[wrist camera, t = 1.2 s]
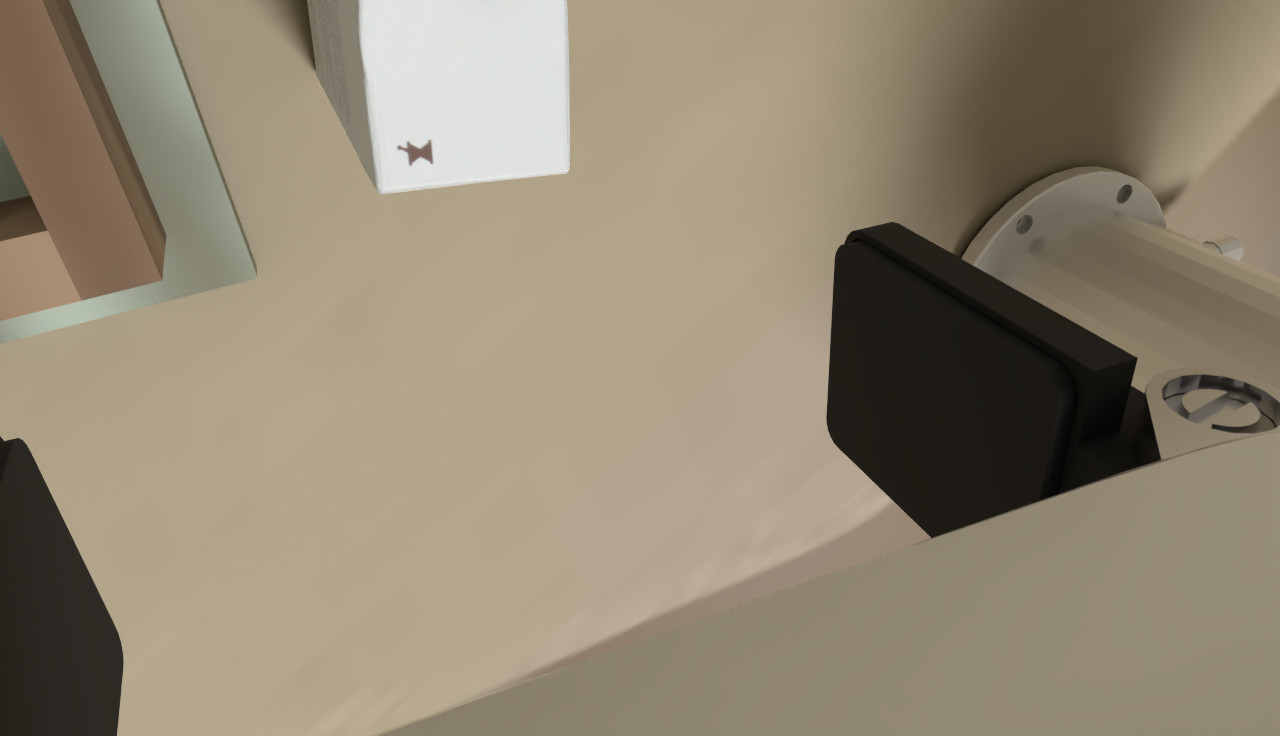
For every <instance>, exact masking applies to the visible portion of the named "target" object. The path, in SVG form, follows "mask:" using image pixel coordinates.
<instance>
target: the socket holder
mask: <svg viewBox="0 0 1280 736" xmlns="http://www.w3.org/2000/svg"><path fill="white" fill-rule="evenodd" d="M255 278H258V276H257V268H256V264H255V261H254V258H253V256H252V253H251V250H250V247H249V245H248V242H247V239H246V236H245V234H244V231H243V228H242V226H241V223H240V220H239V217H238V215H237V212H236V209H235V206H234V204H233V201H232V198H231V195H230V193H229V190H228V187H227V184H226V182H225V179H224V176H223V173H222V171H221V168H220V165H219V162H218V160H217V157H216V154H215V152H214V149H213V146H212V143H211V141H210V138H209V135H208V132H207V130H206V127H205V124H204V121H203V119H202V116H201V113H200V110H199V108H198V105H197V102H196V99H195V97H194V94H193V91H192V88H191V86H190V83H189V80H188V78H187V75H186V72H185V69H184V67H183V64H182V61H181V58H180V56H179V53H178V50H177V47H176V45H175V42H174V39H173V36H172V34H171V31H170V28H169V25H168V23H167V20H166V17H165V14H164V12H163V9H162V6H161V4H160V1H159V0H0V344H1V343H5V342H8V341H12V340H16V339H20V338H24V337H28V336H32V335H36V334H40V333H44V332H48V331H52V330H55V329H59V328H63V327H67V326H71V325H75V324H79V323H83V322H87V321H91V320H95V319H99V318H102V317H106V316H110V315H114V314H118V313H122V312H126V311H130V310H134V309H138V308H142V307H145V306H149V305H153V304H157V303H161V302H165V301H169V300H173V299H177V298H181V297H185V296H189V295H192V294H196V293H200V292H204V291H208V290H212V289H216V288H220V287H224V286H228V285H232V284H236V283H239V282H243V281H247V280H251V279H255Z"/></svg>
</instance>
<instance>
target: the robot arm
mask: <svg viewBox="0 0 1280 736" xmlns="http://www.w3.org/2000/svg"><path fill="white" fill-rule="evenodd" d="M1242 255H1243V246H1242V244H1241V242H1240V240H1239V239H1237V238H1236V237H1235V236H1233V235H1224V236H1221V237H1218V238H1215V239H1212V240H1209V241H1206V242H1204V243H1200V242H1198V241H1195V240H1193V239H1191V238H1188V237H1186V236H1183V235H1180V234H1178V233H1176V232H1173V231H1171V230H1169V229H1166V223H1165V219H1164V216H1163V213H1162V210H1161V207H1160V204H1159V202H1158V201H1157V199H1156V198H1155V196H1154V195H1153V193H1152V192H1151V191H1150V189H1149V188H1147V187H1146V186H1145V185H1144V184H1142V183H1141V182H1140V181H1138V180H1137V179H1136V178H1133V177H1131V176H1128V175H1126V174H1123V173H1121V172H1118V171H1116V170H1112V169H1108V168H1103V167H1098V166H1090V167H1075V168H1072V169H1068V170H1065V171H1061V172H1058V173H1054V174H1052V175H1050V176H1048V177H1046V178H1044V179H1042V180H1040V181H1038V182H1036V183H1034V184H1032V185H1031V186H1029V187H1028V188H1026V189H1025V190H1024V191H1022V192H1021V193H1019V194H1018V195H1017V196H1015V197H1014V198H1012V199H1011V200H1010V201H1009V202H1007V203H1006V204H1005V205H1004V206H1003V207H1002V208H1001V209H1000V210H999V211H998V212H997V213H996V214H995V215H994V216H993V217H992V218H991V219H990V220H989V221H988V222H987V223H986V224H985V226H984V227H983V228H982V229H981V231H980V232H979V233H978V234H977V236H976V237H975V238H974V239H973V241H972V242H971V243H970V245H969V247H968V248H967V250H966V252H965V253H964V255H963V256H962V258H959V257H957V256H955V255H954V254H952V253H950V252H948V251H946V250H945V249H943V248H941V247H939V246H937V245H936V244H934V243H932V242H930V241H929V240H927V239H925V238H923V237H921V236H920V235H918V234H916V233H914V232H913V231H911V230H909V229H907V228H905V227H904V226H902V225H900V224H898V223H894V222H890V223H886V224H882V225H877V226H873V227H869V228H864V229H860V230H856V231H852V232H851V233H850V234H849V235H848V236H847V238H846V241H845V244H844V245H841V246H840V247H839V248H838V250H837V252H836V256H835V267H834V286H833V305H832V325H831V344H830V363H829V382H828V401H827V426H828V431H829V433H830V436H831V438H832V440H833V442H834V443H835V444H836V446H837V447H838V448H839V449H840V450H841V451H842V452H843V453H844V454H845V455H846V456H847V457H848V458H849V459H851V460H852V461H853V462H854V463H855V464H856V465H857V466H858V467H859V468H860V469H861V470H862V471H863V472H864V473H865V474H866V475H867V476H868V477H869V478H870V479H871V480H872V481H873V482H874V483H875V484H876V485H877V486H878V487H879V488H881V489H882V490H883V491H884V492H885V493H886V494H887V495H888V496H889V497H890V498H891V499H892V500H893V501H894V502H895V503H896V504H897V505H898V506H899V507H900V508H901V509H902V510H903V511H904V512H905V513H906V514H907V515H908V516H910V517H911V518H912V519H913V520H914V521H915V522H916V523H917V524H918V525H919V526H920V527H921V528H922V529H923V530H924V531H925V532H926V533H927V534H928V535H929V536H930V537H931V539H928V540H925V541H922V542H919V543H917V544H914V545H911V546H908V547H905V548H902V549H900V550H897V551H894V552H891V553H888V554H885V555H882V556H880V557H877V558H874V559H871V560H868V561H865V562H862V563H860V564H857V565H854V566H851V567H848V568H845V569H843V570H840V571H837V572H834V573H831V574H828V575H825V576H823V577H820V578H817V579H814V580H811V581H808V582H805V583H803V584H800V585H797V586H794V587H791V588H788V589H786V590H783V591H780V592H777V593H774V594H771V595H768V596H766V597H763V598H760V599H757V600H754V601H751V602H748V603H746V604H743V605H740V606H737V607H735V608H731V609H729V610H726V611H723V612H720V613H717V614H715V615H712V616H709V617H706V618H703V619H700V620H698V621H695V622H692V623H689V624H687V625H684V626H681V627H678V628H675V629H672V630H669V631H667V632H664V633H661V634H658V635H656V636H653V637H650V638H647V639H644V640H641V641H638V642H636V643H633V644H630V645H627V646H624V647H622V648H619V649H616V650H613V651H610V652H607V653H604V654H601V655H599V656H596V657H593V658H590V659H587V660H584V661H582V662H579V663H576V664H573V665H570V666H567V667H565V668H562V669H559V670H556V671H553V672H550V673H548V674H545V675H542V676H539V677H536V678H534V679H531V680H528V681H525V682H522V683H519V684H516V685H514V686H511V687H508V688H505V689H502V690H499V691H496V692H494V693H491V694H488V695H485V696H482V697H479V698H477V699H474V700H471V701H468V702H466V703H463V704H460V705H457V706H454V707H452V708H449V709H446V710H443V711H440V712H438V713H435V714H432V715H429V716H426V717H424V718H421V719H418V720H415V721H412V722H410V723H407V724H404V725H401V726H398V727H396V728H393V729H390V730H387V731H384V732H382V733H379V734H376V735H373V736H1280V278H1279V277H1277V276H1274V275H1272V274H1269V273H1267V272H1264V271H1262V270H1260V269H1257V268H1255V267H1252V266H1250V265H1247V264H1245V263H1243V262H1240V261H1239V260H1240V258H1241V256H1242ZM122 675H123V651H122V646H121V641H120V638H119V634H118V632H117V629H116V627H115V625H114V623H113V621H112V619H111V617H110V615H109V613H108V611H107V609H106V606H105V604H104V602H103V600H102V598H101V596H100V594H99V592H98V590H97V588H96V586H95V584H94V582H93V580H92V578H91V575H90V573H89V571H88V569H87V567H86V565H85V563H84V561H83V559H82V557H81V555H80V553H79V551H78V549H77V547H76V545H75V542H74V540H73V538H72V536H71V534H70V532H69V530H68V528H67V526H66V524H65V522H64V520H63V518H62V516H61V514H60V512H59V509H58V507H57V505H56V503H55V501H54V499H53V497H52V495H51V493H50V491H49V489H48V487H47V485H46V483H45V481H44V479H43V476H42V474H41V472H40V470H39V468H38V466H37V464H36V462H35V460H34V458H33V456H32V454H31V452H30V450H29V448H28V447H27V445H26V444H25V443H24V441H23V440H21V439H19V438H16V439H12V440H8V441H3V439H2V438H1V437H0V736H117V728H118V717H119V707H120V696H121V685H122Z"/></svg>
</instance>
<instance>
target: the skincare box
mask: <svg viewBox="0 0 1280 736" xmlns="http://www.w3.org/2000/svg"><path fill="white" fill-rule="evenodd" d="M307 5H308V12H309V20H310V27H311V34H312V42H313V49H314V57H315V65H316V73H317V77H318V79H319V81H320V83H321V85H322V87H323V89H324V91H325V93H326V95H327V96H328V98H329V100H330V102H331V104H332V106H333V108H334V109H335V111H336V113H337V115H338V117H339V119H340V121H341V123H342V125H343V127H344V129H345V131H346V133H347V135H348V137H349V139H350V141H351V143H352V145H353V146H354V148H355V150H356V152H357V154H358V156H359V158H360V161H361V163H362V165H363V167H364V169H365V171H366V173H367V174H368V176H369V178H370V179H371V181H372V183H373V185H374V187H375V188H376V190H377V191H378V192H379V193H381V194H389V193H398V192H406V191H414V190H422V189H431V188H439V187H448V186H457V185H465V184H474V183H483V182H492V181H501V180H510V179H519V178H529V177H538V176H548V175H557V174H564V173H567V172H568V171H569V169H570V114H569V47H568V15H567V0H307Z"/></svg>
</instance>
